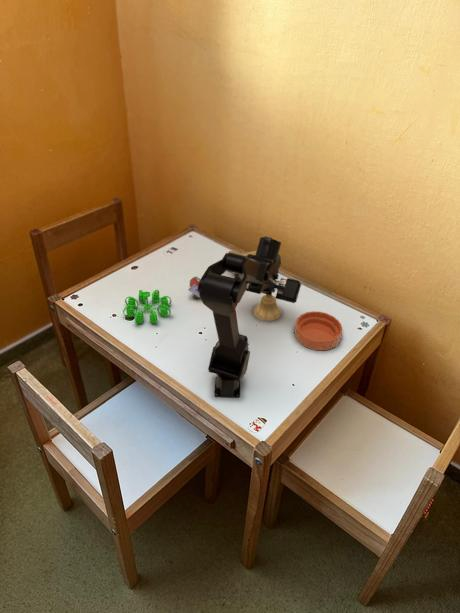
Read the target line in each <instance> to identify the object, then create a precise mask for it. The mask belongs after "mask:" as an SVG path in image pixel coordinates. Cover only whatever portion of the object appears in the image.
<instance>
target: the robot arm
mask: <svg viewBox="0 0 460 613" xmlns="http://www.w3.org/2000/svg"><path fill="white" fill-rule="evenodd" d="M281 246H282V242H281V241H278V240H277V239H273V238H272V237H270V236H262V237H260V238H259V241H258V245H257V247H256V250H255V251H256V254H255V255H252V254H248V255H247V256H244V255H239V254H235V253H231V252H230V253H228V252H225V254H224V255H223V256H222V258H221V259H220V260H218V261H216V262H214V263H213V264H211V265H209V266H208V267H207V268H206V270H205V271H204V273H203V275H202V276H201V277H200V282H199V285H198V292H199V294H200V297H199V299H200V300H201V302H202V304H203V305H204V306H205V307H206V308H208V309H209V310H210V311H212V316H213V320H214V325H215V329H216V334H217V339H218V340H217V342H215V345H214V346H213V347H212V351H211V355H210V359H209V364H208V368H207V370H208V373H210V374H215V375H216V376H215V378H214V392H213V395H214V397H215V398H231V399H232V398H233V399H234V398H237V399H239V398H241V382H242V381H243V379H244V377H245V375H246V373H247V371H248V366H249V363H250V362H249V361H250V355H251V351H250V350H249V349H250V348H249V345H250V344H249V338H248V336H247V335H244V334H242V333H240V332H239V331H240V330H239V325H238V323H239V322H238V316H237V309H236V308H237V306H238V304H239V303H240V302H241V301H242V299H243V296H244V295H245V293H246V292H249V293H253V294H257V295H261V294H264V295H266V294H267V295H271V294H272V295H273V293H275V294H276V295H275V298H276V300H279V301H284V302H288V303H292V304H295V303H297V301H298V297H299V293H300V290H301V286H302V282H301V281H300V280H297V279H293V278H289V277H287V278H280V280H278V279H279V276H280V275H279V269H280V267H281V265H282V259H281V258H282V257H281V255H280V253H279V252H280V249H281ZM226 272H229V273H233V274H234V277H232V276H227V275H224V274H225V273H226Z"/></svg>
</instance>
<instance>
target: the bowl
mask: <svg viewBox="0 0 460 613" xmlns="http://www.w3.org/2000/svg"><path fill="white" fill-rule="evenodd" d="M342 333H343V325H342V323H341V322H340V320H339V319H338V318H336V317H335V316H333V315H331V314H329V313H327V312H323V311H317V310H316V311H314V310H312V311H307V312H303V313H302V314H300V315H299V316H298V317H297V318H296V321H295V326H294V337H295V339H296V340H297V342H299V343H300V344H301V345H302V346H303V347H306V348H308V349H311V350H315V351H328V350H331V349H334V348H336V347H337V346H338V345H339V344H340V342H341V338H342Z"/></svg>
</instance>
